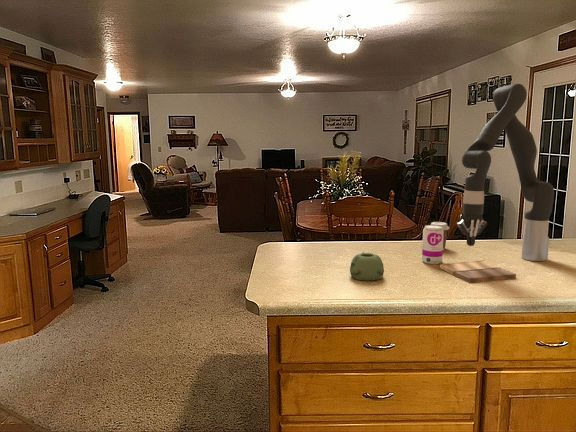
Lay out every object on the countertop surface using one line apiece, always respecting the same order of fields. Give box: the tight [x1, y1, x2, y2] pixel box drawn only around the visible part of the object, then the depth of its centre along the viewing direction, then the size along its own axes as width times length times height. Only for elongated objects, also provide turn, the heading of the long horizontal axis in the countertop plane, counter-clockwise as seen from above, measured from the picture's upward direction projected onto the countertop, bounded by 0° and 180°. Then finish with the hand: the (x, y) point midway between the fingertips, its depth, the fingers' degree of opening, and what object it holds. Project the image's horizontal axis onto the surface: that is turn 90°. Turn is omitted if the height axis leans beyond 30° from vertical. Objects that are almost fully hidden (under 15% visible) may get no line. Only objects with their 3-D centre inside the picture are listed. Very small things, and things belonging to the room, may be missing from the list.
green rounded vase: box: [349, 251, 385, 282], centre depth 182 cm, size 16×13×9 cm
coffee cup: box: [430, 221, 450, 251], centre depth 226 cm, size 9×9×12 cm
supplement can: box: [421, 224, 444, 265], centre depth 201 cm, size 8×8×15 cm
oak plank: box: [439, 259, 500, 276], centre depth 189 cm, size 20×9×2 cm, turn 105°
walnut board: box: [453, 266, 517, 284], centre depth 180 cm, size 20×9×2 cm, turn 105°
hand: (470, 245), depth 190 cm, fingers closed
